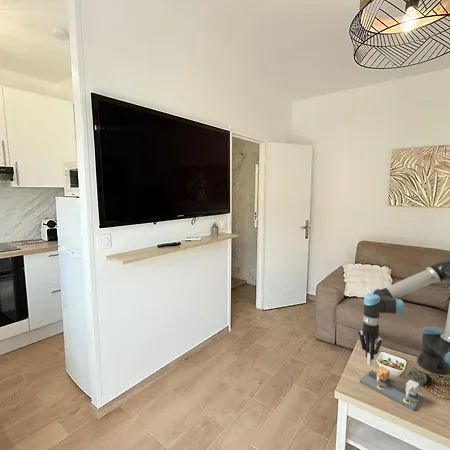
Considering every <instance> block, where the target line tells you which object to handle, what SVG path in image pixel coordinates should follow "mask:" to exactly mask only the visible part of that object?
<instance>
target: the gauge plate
mask: <svg viewBox="0 0 450 450" xmlns="http://www.w3.org/2000/svg"><path fill="white" fill-rule="evenodd" d="M376 374H377V372H375V371H374V370H369V371H368V372H367V373H366V374H365V375H364V376H362V377H361V378H360V379H359V383H360V384H363V385H364V386H366V387H368V388H369V389H371V390H373V391H375V392H377V393H379V394H381V395H383V396H385V397H386V398H388V399H390V400H393V401H394V402H396V403H398V404H400V405H401V406H403V407H405V408H407V409H409V410H411V411H413V412H414V411H415V410H416V408H417V407H418V406H419V405H420V403H421V402H422V401H423V398H424V397H423V396H422V395H421V394H419V391H420V386H419V383H417V382H414V381H412V380H409V381H408V380H407V382H406V383H405V386H404V385H402V384H400V383H399V382H396V381H394V380H393V379H390V378H388V379H387V380H386V381H384V380H382V379H380V381H379V385H377V376H376Z"/></svg>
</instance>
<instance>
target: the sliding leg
mask: <svg viewBox="0 0 450 450" xmlns="http://www.w3.org/2000/svg"><path fill="white" fill-rule="evenodd" d="M376 373H377V374H376V376H377V385H379V381H380V379H382V380H384V381H386V380H387V379H390V374H391V373H390V369H388V368H386V367H384V366H380V367H379V368H378V369H377V372H376Z"/></svg>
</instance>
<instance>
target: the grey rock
mask: <svg viewBox="0 0 450 450" xmlns="http://www.w3.org/2000/svg"><path fill="white" fill-rule="evenodd" d="M407 376H408V378H407V382H408V381H409V380H412V381H414V382H417V383H419V387H423V385H424V384H428V385H429V384H432V379H433V378H432V377H431V376H430V375H429V374H427V373H425V372H423V371H421V370H419V369H418V367H417V368H416V367H411V369H409V371H408V373H407Z"/></svg>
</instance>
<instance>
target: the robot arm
mask: <svg viewBox="0 0 450 450" xmlns="http://www.w3.org/2000/svg"><path fill="white" fill-rule="evenodd" d="M444 281H448V289H450V259H449V260H443V261H440V262H435V263H433V264H431V265H430V266H427V267H426V269H425V270H423V271H420V272H418V273H416V274H414V275H411V276H408V277H406V278H404V279H402V280H399V281H397V282H395V283H392V284H391V285H388V286H386V287H383V288H381V289H379V288H374V289H372V290H371V291H370V293H367V294H365V295H364V298H363V317H362V318H363V319H362V320H363V324H362V329H361V330H359V331H358V332H357V334H358V335H359V340H360V344H361V349H362V350H363V351H364V352H365V358H366V365H367V366H371V365H372V364H373V361H374V360H375V356H377V355H378V354H379V351H380V348H381V347H382V346H381V345H382V343H383V342H384V341H385V340H384V338H382V337H381V336H380V334H379V331H380V326H379V325H380V314H392V315H393V314H395V315H398V314H399V315H400V314H404V312H405V310H406V305H405V303H404V301H403V300H402V299H400V297H403V296H405V295H408V294H410V293H412V292H416V291H417V290H420V289H422V288H424V287H427V286H428V285H431V284H433V283H441V282H444ZM376 340H377V342H376ZM416 363H417V365H418V366H419V367H421V368H422V369H423V370H426V371H427V372H430V373H433V374H436V375H437V374H438V375H448V374H449V373H450V302H449V303H448V310H447V316H446V322H445V328H441V327H437V326H429V325H428V326H424V327H423V329H422V338H421V350H420V352H419V354H418V356H417V358H416Z"/></svg>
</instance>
